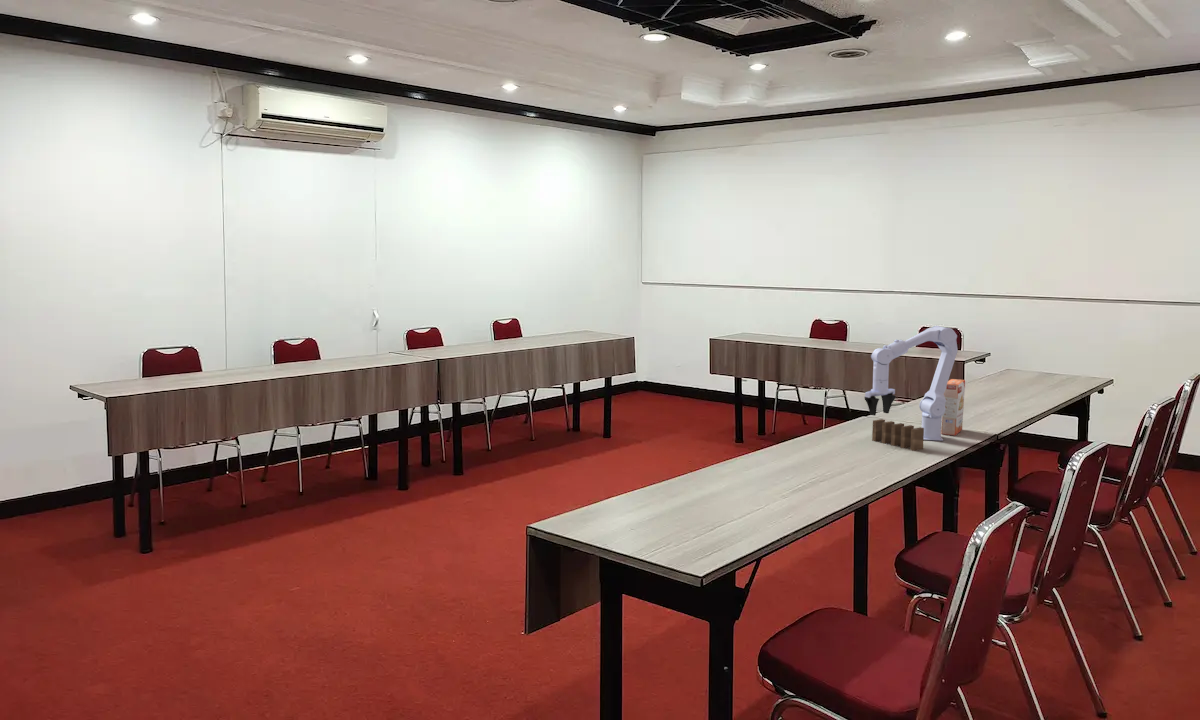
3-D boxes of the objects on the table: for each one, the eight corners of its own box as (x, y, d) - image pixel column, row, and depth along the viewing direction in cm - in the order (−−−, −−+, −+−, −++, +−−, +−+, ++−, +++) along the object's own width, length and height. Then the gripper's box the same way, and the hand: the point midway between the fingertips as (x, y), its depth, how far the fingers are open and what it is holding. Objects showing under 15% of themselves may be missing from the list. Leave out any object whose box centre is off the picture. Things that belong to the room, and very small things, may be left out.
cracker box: (956, 436, 337) (959, 384, 334) (940, 434, 340) (943, 383, 337) (963, 429, 348) (966, 379, 345) (947, 428, 351) (950, 378, 349)
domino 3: (890, 445, 323) (891, 424, 322) (899, 443, 325) (900, 423, 324) (894, 446, 321) (895, 425, 320) (903, 444, 324) (904, 423, 323)
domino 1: (884, 439, 332) (885, 419, 331) (875, 441, 329) (876, 421, 328) (881, 439, 333) (881, 419, 332) (872, 440, 330) (872, 420, 329)
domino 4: (900, 447, 319) (901, 426, 318) (909, 445, 321) (910, 425, 320) (904, 448, 318) (904, 427, 316) (913, 446, 320) (913, 425, 319)
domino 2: (881, 442, 327) (882, 422, 325) (890, 441, 329) (891, 421, 328) (884, 443, 325) (885, 423, 324) (893, 442, 328) (894, 421, 327)
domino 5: (910, 450, 315) (911, 428, 314) (919, 448, 318) (920, 427, 317) (914, 450, 314) (914, 429, 313) (923, 449, 316) (923, 428, 315)
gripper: (885, 376, 335) (884, 410, 337) (859, 379, 327) (858, 414, 329) (899, 378, 329) (898, 413, 331) (873, 382, 321) (872, 417, 323)
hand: (879, 414), depth 330 cm, fingers open, 7 cm apart
